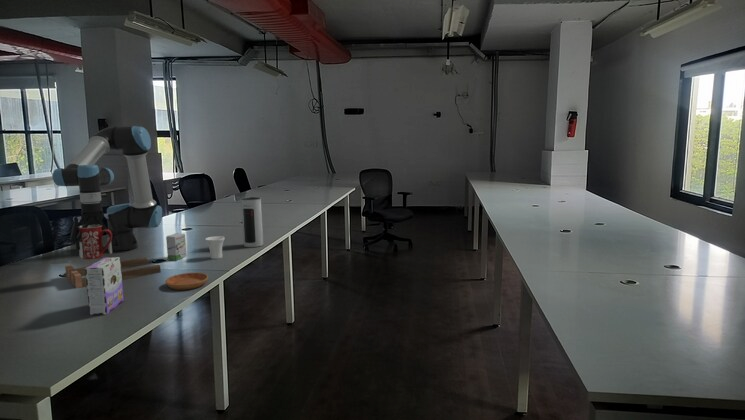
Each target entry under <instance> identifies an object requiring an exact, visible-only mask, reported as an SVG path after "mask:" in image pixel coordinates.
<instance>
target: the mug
mask: <svg viewBox="0 0 745 420" xmlns="http://www.w3.org/2000/svg"><path fill="white" fill-rule="evenodd" d="M82 226H83V225H78V227H77V230H78V233H79V232H81V231H82V238H81V239H80V241H81V242H82V249H83V258H82V259H83V260H96V259H102V258H104V257H103V256H104V252H105V251H106V250H107V249H106V248H107V247H108V246H109V244H110V242H111V240H112V232H111V231H110V230H107V229H105V230H104V229H103V228H102V226H100V225H99V224H98V225H95V224H94V225H88V227H87V228H82ZM106 232H108V233H109V235H110V239H109V242H108V243H107V242H106V243H107V245H105V246H103V236H104V233H106ZM109 235H108V236H109Z"/></svg>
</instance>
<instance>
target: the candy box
mask: <svg viewBox="0 0 745 420" xmlns="http://www.w3.org/2000/svg"><path fill="white" fill-rule="evenodd" d="M120 261H121V258H120V256H117V257H116V256H115V257H102V258H100V259H99V260H98V261H96V262H94V263H92V264H91V265H89V266H86V267H87V268H85V272H86V275H85V278H86V283H87V286H86V291H87V292H86V293H87V301H88V311H89V316H95V315H96V316H97V315H98V316H104V315H108V314H110V312H112V311H113V310H114V309H115V308H116V307H118V306H119V305H120V304H121V303H122V302H123V301H125V297H124V288H123V287H124V286H123V279H122V274H121V271H122V269H121V264H120Z"/></svg>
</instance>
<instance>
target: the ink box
mask: <svg viewBox="0 0 745 420" xmlns="http://www.w3.org/2000/svg"><path fill="white" fill-rule="evenodd" d="M165 240H166V250H167V260H168V261H174V262H175V261H176V262H178V261H180V260H182V259H184V258H186V257H187V256H188V255H187V243H186V240H187V239H186V234H185V233H179V232H177V233H173V234H172V233H171V234H170V235H167V236H166V238H165Z"/></svg>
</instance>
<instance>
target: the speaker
mask: <svg viewBox="0 0 745 420" xmlns="http://www.w3.org/2000/svg"><path fill="white" fill-rule="evenodd" d="M240 202H241V218H242V238H243V246H244V247H245V248H260V247H262V246H264V233H263V232H264V231H263V214H262V198H261V197H253V196H252V197H245V198H241V201H240Z"/></svg>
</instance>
